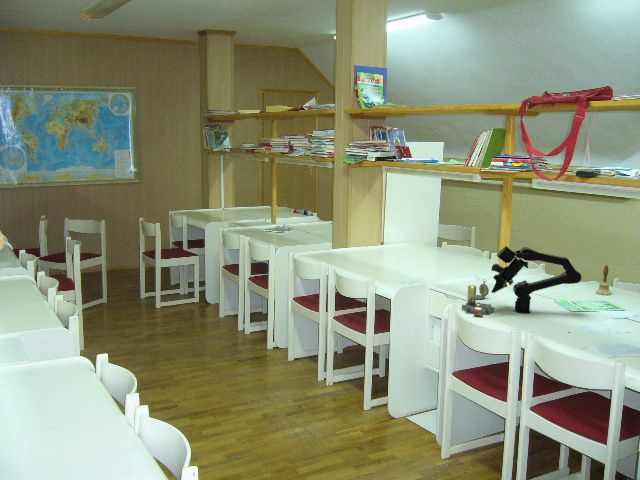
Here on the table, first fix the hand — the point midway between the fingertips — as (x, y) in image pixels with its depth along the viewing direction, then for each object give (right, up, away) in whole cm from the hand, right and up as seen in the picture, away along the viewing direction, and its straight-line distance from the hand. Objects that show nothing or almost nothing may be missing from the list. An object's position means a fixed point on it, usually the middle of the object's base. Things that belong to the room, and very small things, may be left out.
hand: (492, 292), depth 332 cm
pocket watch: (0, -5, +23) cm, 24 cm away
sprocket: (-8, -9, -3) cm, 12 cm away
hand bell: (+71, -4, +38) cm, 81 cm away
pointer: (-10, -11, -13) cm, 20 cm away
